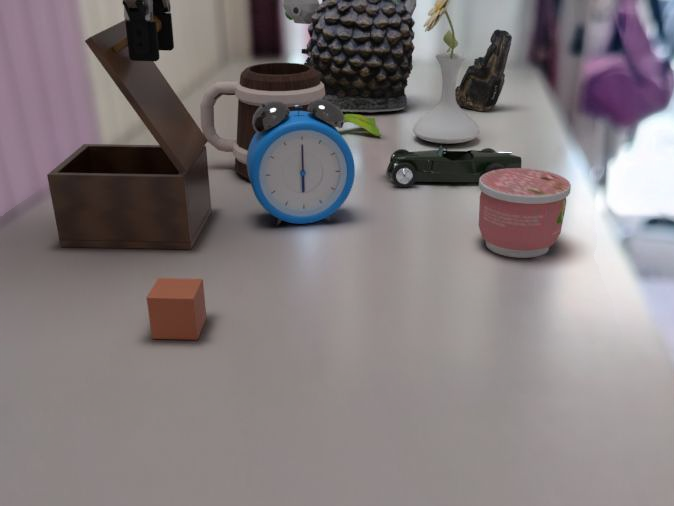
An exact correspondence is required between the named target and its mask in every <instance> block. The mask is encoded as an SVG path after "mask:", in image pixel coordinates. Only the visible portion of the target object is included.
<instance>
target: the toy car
mask: <svg viewBox="0 0 674 506" xmlns="http://www.w3.org/2000/svg"><path fill="white" fill-rule="evenodd" d="M442 146H443V145H442V144H441V145H440V147H439V148H438V149H431V150H419V151H409V150H407V149H405V148H404V149H403V148H401V149H397V150H395V151H393V153H392V154H391V155H390V157H389V158H390V159H389V161H390V162H389V163H388V166H387V167H386V172H385V175H386V176H387V177H388V178H390V179H392V181H393V183H394V184H395V185H396V186H397V187H400V188H408V187H411V186H412V185H414V184H415V182H422V183H424V182H425V183H427V182H428V183H479V179H480V177H481V176H482V175H483V174H485V173H487V172H490V171H493V170H498V169H506V168H522V157H521V156H518V155H514V154H512V151H496V150H495V149H493V148H490V147H485V148H483V149H480V150H475V149H471V150H448V148H447V147H445V150H444V148H443V147H442Z"/></svg>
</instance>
